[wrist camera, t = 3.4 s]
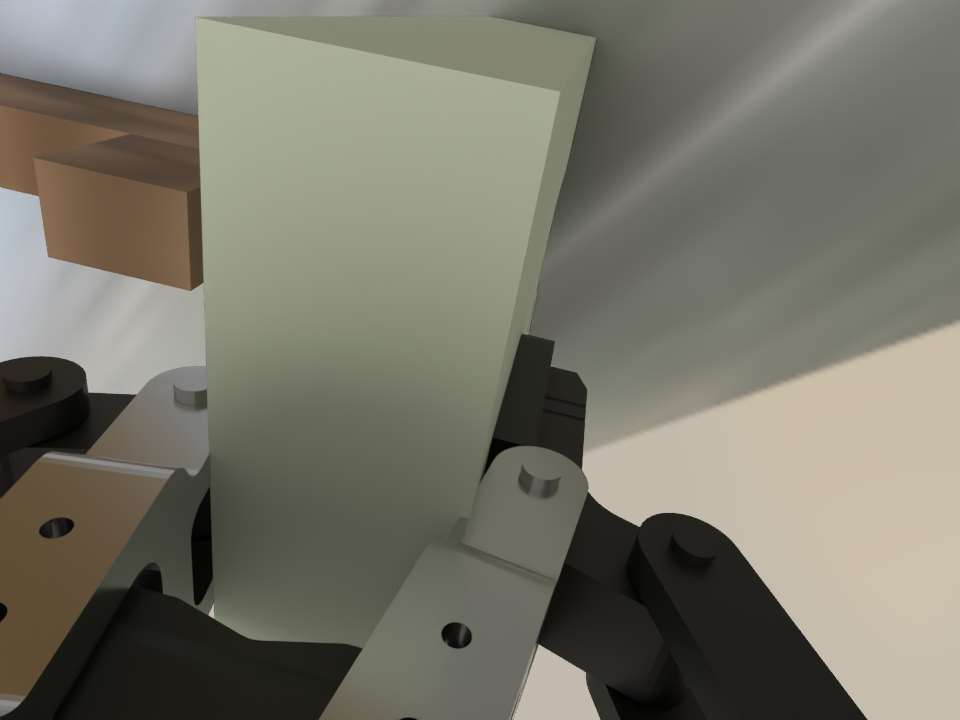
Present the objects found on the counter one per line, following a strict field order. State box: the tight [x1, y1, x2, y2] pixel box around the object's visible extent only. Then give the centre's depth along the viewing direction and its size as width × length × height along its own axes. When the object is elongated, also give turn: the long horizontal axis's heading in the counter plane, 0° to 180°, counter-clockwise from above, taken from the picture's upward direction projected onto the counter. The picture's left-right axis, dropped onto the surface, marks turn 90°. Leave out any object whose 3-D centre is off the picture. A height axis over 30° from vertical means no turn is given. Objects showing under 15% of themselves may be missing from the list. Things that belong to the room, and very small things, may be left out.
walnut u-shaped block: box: [0, 74, 204, 291], centre depth 19 cm, size 12×2×7 cm, turn 80°
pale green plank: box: [195, 17, 596, 648], centre depth 15 cm, size 11×3×15 cm, turn 170°
